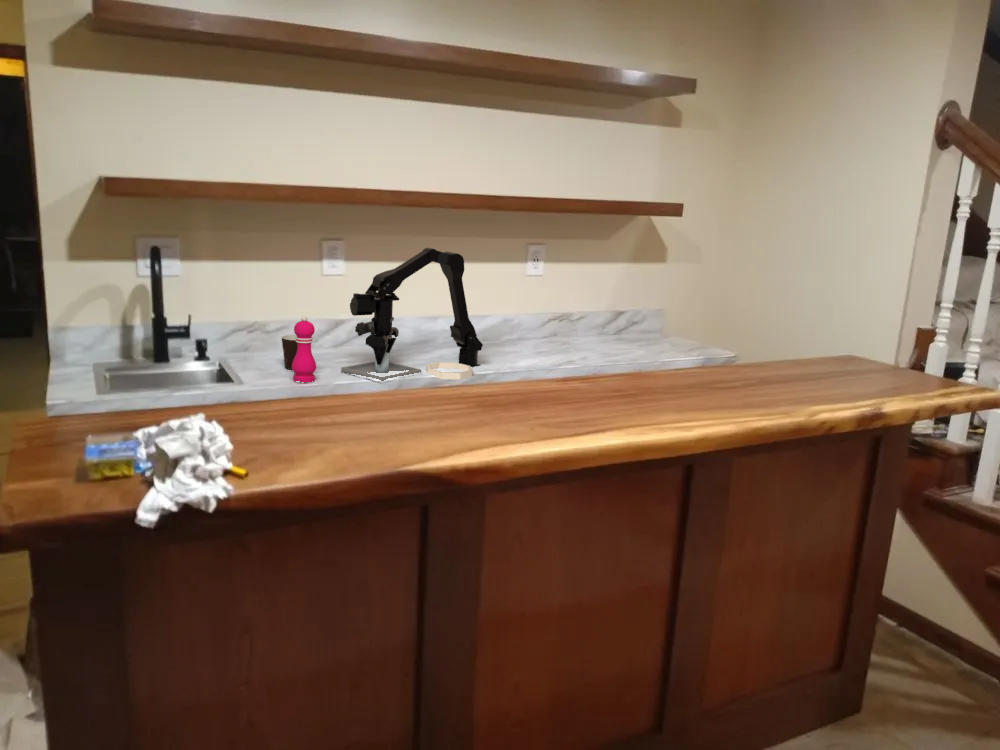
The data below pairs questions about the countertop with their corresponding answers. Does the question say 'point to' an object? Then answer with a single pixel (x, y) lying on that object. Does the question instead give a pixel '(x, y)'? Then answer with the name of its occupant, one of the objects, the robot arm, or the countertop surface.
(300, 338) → the pepper mill
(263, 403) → the countertop surface
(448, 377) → the bowl
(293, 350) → the coffee mug
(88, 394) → the countertop surface
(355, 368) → the tray
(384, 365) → the peg
